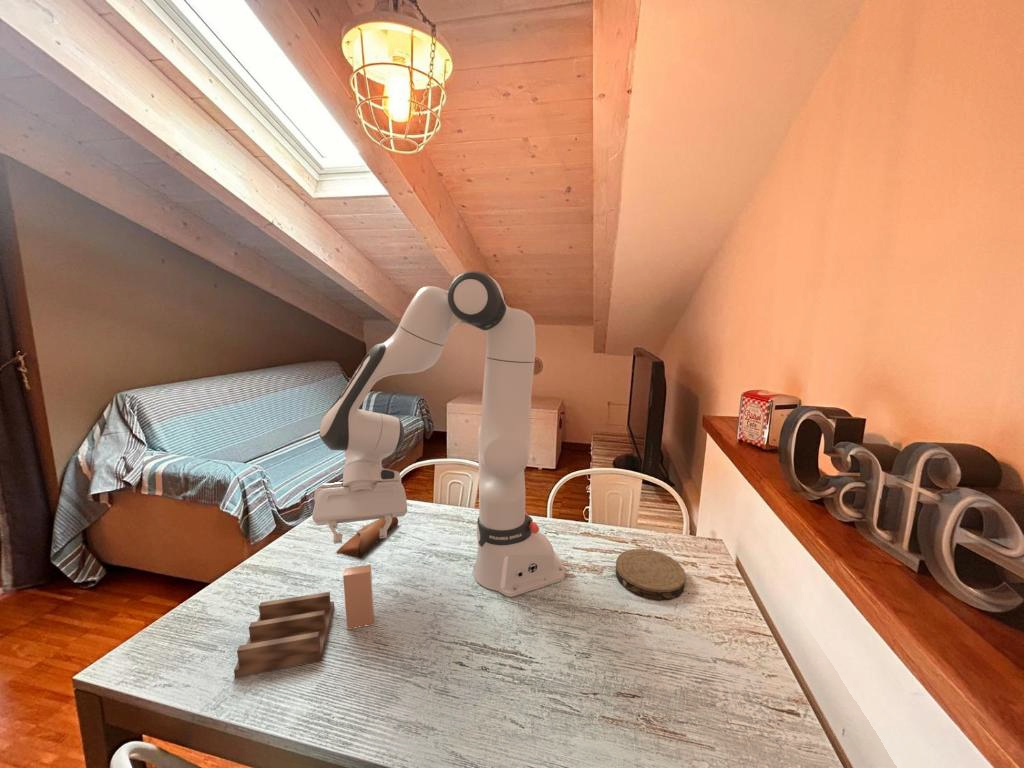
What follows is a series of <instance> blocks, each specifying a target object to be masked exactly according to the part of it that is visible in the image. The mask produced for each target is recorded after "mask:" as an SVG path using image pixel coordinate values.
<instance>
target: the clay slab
mask: <svg viewBox="0 0 1024 768" xmlns="http://www.w3.org/2000/svg"><path fill="white" fill-rule="evenodd" d="M342 575H343V577H342V580H343V592H344V593H343V594H344V605H345V614H346V615H345V617H346V629H347V630H350V629H349V628H352V629H355V628H354V627H358V628H360V627H359V626H364V627H366V626H365V625H369V626H373V625H374V623H375V622H374V620H375V611H374V610H375V609H374V608H375V607H374V593H373V592H374V591H373V576H372V575H373V574H372V564H367V565H365V564H364V565H358V566H353V567H346V568H344V571H343V574H342ZM373 622H374V623H373ZM372 624H373V625H372Z"/></svg>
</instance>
